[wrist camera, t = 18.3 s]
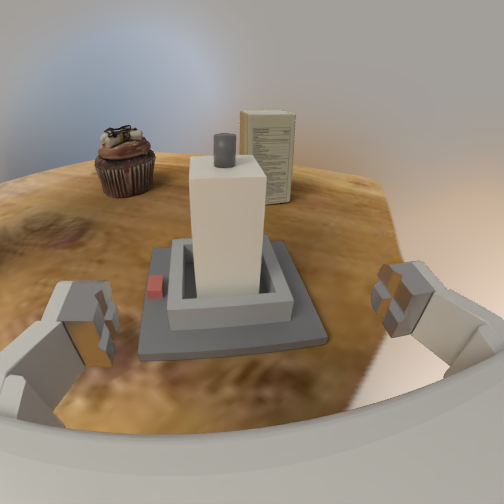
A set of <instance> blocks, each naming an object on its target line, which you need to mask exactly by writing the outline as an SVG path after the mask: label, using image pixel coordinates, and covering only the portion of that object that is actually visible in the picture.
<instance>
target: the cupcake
mask: <svg viewBox="0 0 504 504" xmlns="http://www.w3.org/2000/svg"><path fill="white" fill-rule="evenodd" d="M121 129H122V130H121ZM114 130H121V131H116V132H114ZM104 132H105V133H104V134H103V135H102V136H101V139H100V140H101V142H102V145H101V146H100V148H99V151H98V154H99V155H98V156H97V158H96V159H95V165H94V166H95V169H96V171H97V174H98V176H99V178H100V181H101V184H102V187H103V191H104V193H105V194H106V195H107V196H108V197H112V198H128V197H132V196H135V195H139V194H142V193H145V192H146V191H148V190H149V189H150V188H151V187H152V180H153V170H154V163H155V158H156V156H155V154H154V152H153V151H152V150H150V147H151V146H150V143H149V142H148V141H146V139H145V137H143V136H142V134H143V133H142V130H137V129H136V128H134V129H133V128H132V129H131V126H130V125H126V126H122V127H120V128H118V129H113V128H108V129H107V130H105V131H104Z"/></svg>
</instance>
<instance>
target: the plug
mask: <svg viewBox="0 0 504 504" xmlns="http://www.w3.org/2000/svg"><path fill="white" fill-rule="evenodd" d="M266 183H267V176H266V175H265V173H264V172H263V170H262V169H261V167H260V166H259V164H258V162H257V161H256V159H255V158H254V156H253V155H236V135H235V134H229V133H221V134H215V135H214V156H191V157H190V170H189V194H190V213H191V229H192V244H193V257H194V270H195V281H196V292H197V298H211V297H225V296H239V295H252V294H259V286H260V272H261V258H262V243H263V228H264V214H265V198H266Z"/></svg>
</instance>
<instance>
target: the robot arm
mask: <svg viewBox="0 0 504 504" xmlns="http://www.w3.org/2000/svg"><path fill="white" fill-rule="evenodd" d="M378 277H379V279H380V280H379V281H378V282H377V283H376V284H375V285H374V287H373V290H372V293H371V303H372V306H373V309H374V310H375V312H376V314H378V315H379V316H381V317H383V323H382V324H383V325H384V327H385V329H386V330H387V332H388V333H389V335H390V337H391V338H395V337H399V336H404V335H409V334H412V335H411V336H413V337H414V338H415V339H417V340H418V341H419V342H420V343H422V344H423V345H424V346H426V347H427V348H428V349H429V350H431V351H432V352H433V353H434V354H436V355H437V356H438V357H439V358H441V359H442V360H443V361H444V362H446V363H447V364H448V365H449V366H450V368H449V369H448V370H447V371H446V373H445V374H444V377H443V378H444V379H442V380H440V381H437V382H435V383H432V384H430V385H427V386H425V387H422V388H419V389H416V390H414V391H411V392H408V393H405V394H403V395H399V396H396V397H393V398H390V399H387V400H384V401H381V402H377V403H374V404H370V405H367V406H363V407H360V408H356V409H352V410H348V411H344V412H340V413H336V414H332V415H328V416H323V417H319V418H314V419H309V420H304V421H299V422H293V423H288V424H282V425H276V426H269V427H262V428H254V429H246V430H237V431H227V432H215V433H199V434H168V435H152V434H122V433H106V432H95V431H85V430H76V429H69V428H66V426H65V425H64V423H63V422H62V421H61V420H60V419H59V418H58V417H57V416H56V415H55V414H54V413H53V411H54V409H55V408H56V406H57V405H58V404H59V402H60V401H61V400H62V398H63V397H64V396H65V394H66V393H67V392H68V390H69V389H70V388H71V386H72V385H73V384H74V382H75V381H76V380H77V378H78V377H79V376H80V375H81V373H82V372H83V371H84V369H85V366H99V367H112V366H113V360H114V354H115V345H114V343H113V340H114V339H115V338H116V337H117V336H118V329H119V317H118V311H117V307H116V304H115V303H114V302H113V301H112V300H111V299H110V298H111V294H112V290H111V287H110V284H109V282H108V281H106V280H97V281H60V282H58V283H57V285H56V287H55V289H54V291H53V293H52V296H51V298H50V300H49V302H48V305H47V307H46V309H45V312H44V314H43V317H42V319H41V321H36V322H35V323H33V324H32V325H31V326H30V327H29V328H27V329H26V330H25V331H24V332H23V333H22V334H20V335H19V336H18V337H17V338H16V339H15V340H13V341H12V342H11V343H10V344H9V345H8V346H7V347H6V348H4V349H3V350H2V351H1V352H0V504H504V321H503V319H502V318H501V317H499V316H497V315H496V314H494V313H492V312H491V311H489V310H487V309H485V308H484V307H482V306H480V305H478V304H476V303H475V302H473V301H471V300H469V299H467V298H466V297H464V296H462V295H460V294H458V293H457V292H455V291H453V290H451V289H449V290H447V288H446V287H445V286H444V285H443V284H442V283H441V281H439V279H438V278H437V277H436V276H435V275H434V274H433V273H432V271H431V270H430V269H429V268H428V267H427V266H426V265H425V264H424V262H421V261H412V262H407V263H395V264H384V265H383V266H382V267H381V268H380V270H379V273H378Z"/></svg>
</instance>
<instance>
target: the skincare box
mask: <svg viewBox="0 0 504 504" xmlns="http://www.w3.org/2000/svg"><path fill="white" fill-rule="evenodd" d="M295 119H296V115H295V114H293V113H290V112H287V111H284V110H247V111H245V110H241V111H240V155H253V156H254V158H255V159H256V161H257V162H258V164H259V166H260V167H261V169H262V170H263V172H264V173H265V175H266V176H267V183H266V198H265V205H266V204H275V203H284V202H290V194H291V181H292V167H293V152H294V136H295Z"/></svg>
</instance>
